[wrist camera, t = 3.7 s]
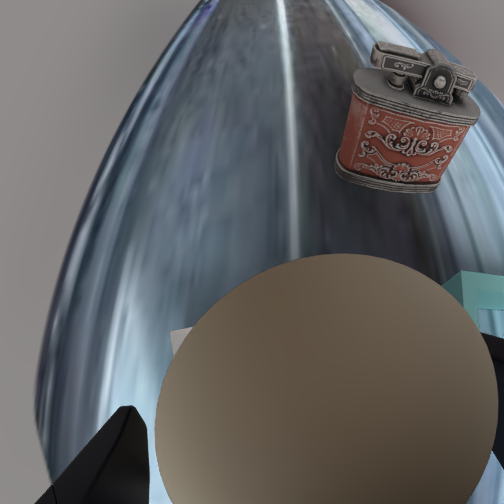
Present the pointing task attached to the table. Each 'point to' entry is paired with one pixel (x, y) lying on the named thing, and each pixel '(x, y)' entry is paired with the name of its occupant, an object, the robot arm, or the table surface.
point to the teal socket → (476, 292)
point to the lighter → (405, 119)
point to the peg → (329, 391)
